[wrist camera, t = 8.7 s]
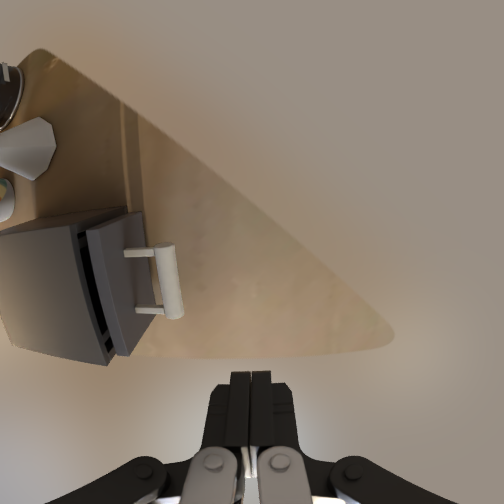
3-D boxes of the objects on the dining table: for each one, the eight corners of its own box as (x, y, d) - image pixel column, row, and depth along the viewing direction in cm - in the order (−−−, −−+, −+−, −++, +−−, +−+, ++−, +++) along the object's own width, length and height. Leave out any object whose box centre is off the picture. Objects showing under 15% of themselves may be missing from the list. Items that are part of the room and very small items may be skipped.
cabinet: (127, 205, 25) (69, 225, 16) (145, 313, 28) (107, 366, 19) (36, 218, 26) (-21, 238, 16) (56, 307, 29) (11, 345, 20)
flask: (41, 106, 22) (-19, 97, 12) (65, 145, 23) (-1, 144, 14) (12, 151, 23) (-45, 155, 14) (34, 191, 25) (-28, 205, 15)
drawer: (185, 207, 24) (154, 223, 17) (197, 313, 27) (178, 360, 20) (48, 222, 25) (0, 240, 17) (67, 308, 28) (30, 340, 20)
